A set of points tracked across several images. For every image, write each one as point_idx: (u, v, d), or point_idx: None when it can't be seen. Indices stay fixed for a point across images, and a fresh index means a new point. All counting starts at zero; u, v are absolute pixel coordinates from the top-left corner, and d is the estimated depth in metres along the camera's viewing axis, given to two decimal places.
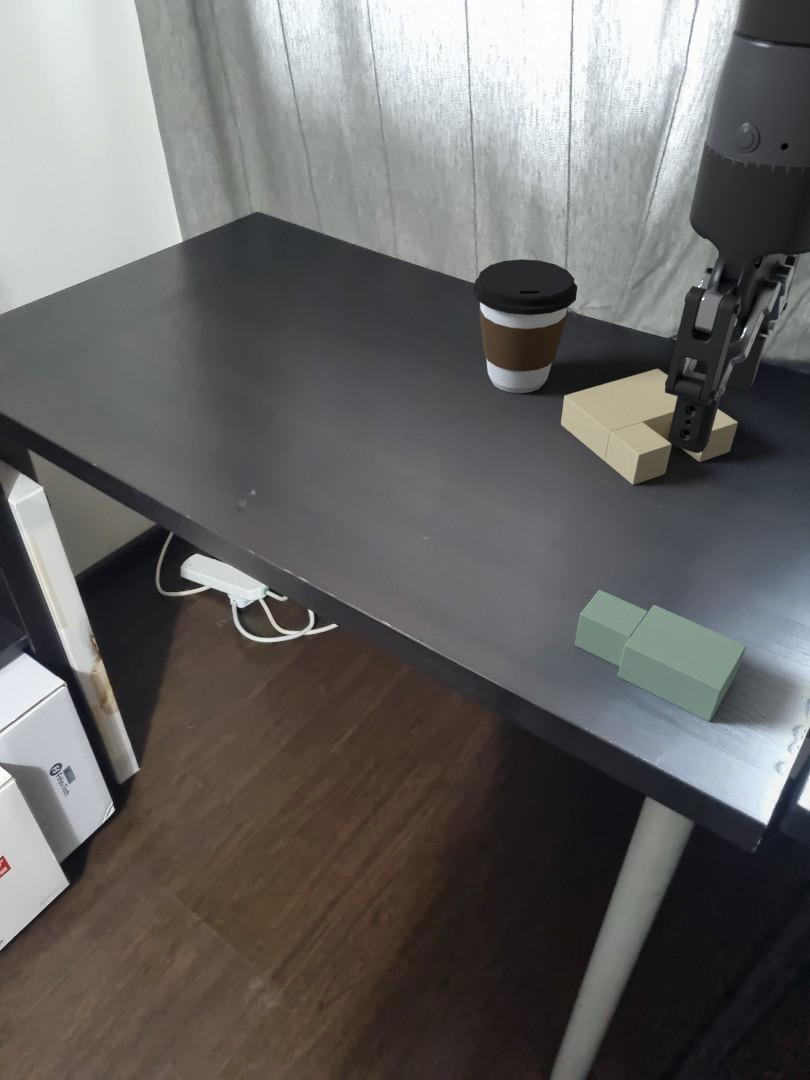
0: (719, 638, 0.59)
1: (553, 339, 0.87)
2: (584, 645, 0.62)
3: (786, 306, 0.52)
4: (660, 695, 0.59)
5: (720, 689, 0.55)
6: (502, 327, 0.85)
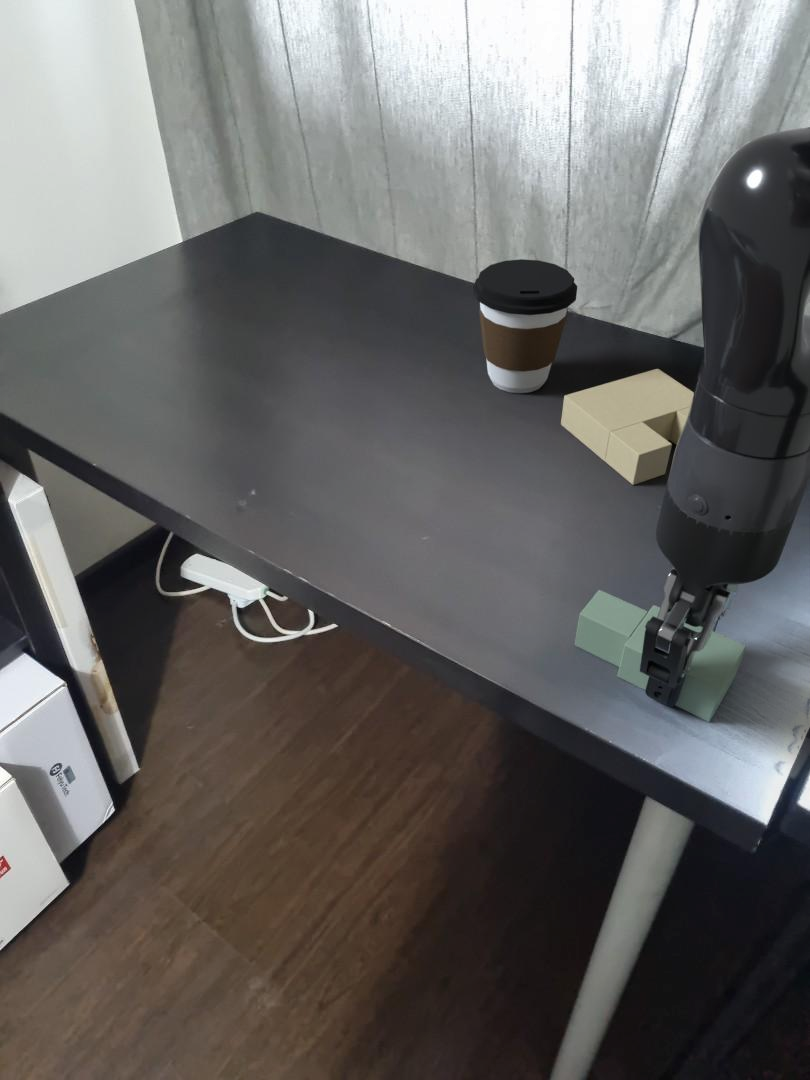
0: (719, 638, 0.59)
1: (553, 339, 0.87)
2: (584, 645, 0.62)
3: None
4: None
5: (720, 689, 0.55)
6: (502, 327, 0.85)
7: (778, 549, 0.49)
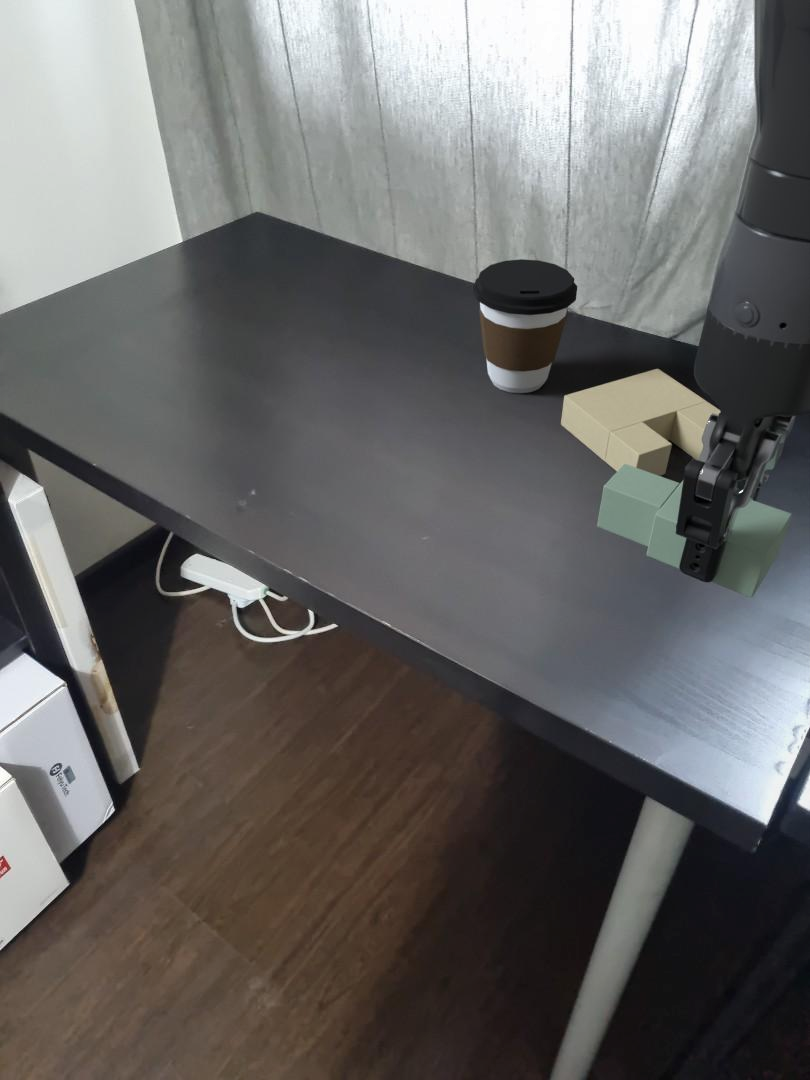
0: (761, 507, 0.52)
1: (553, 339, 0.87)
2: (608, 525, 0.56)
3: (779, 458, 0.53)
4: None
5: (765, 555, 0.49)
6: (502, 327, 0.85)
7: None
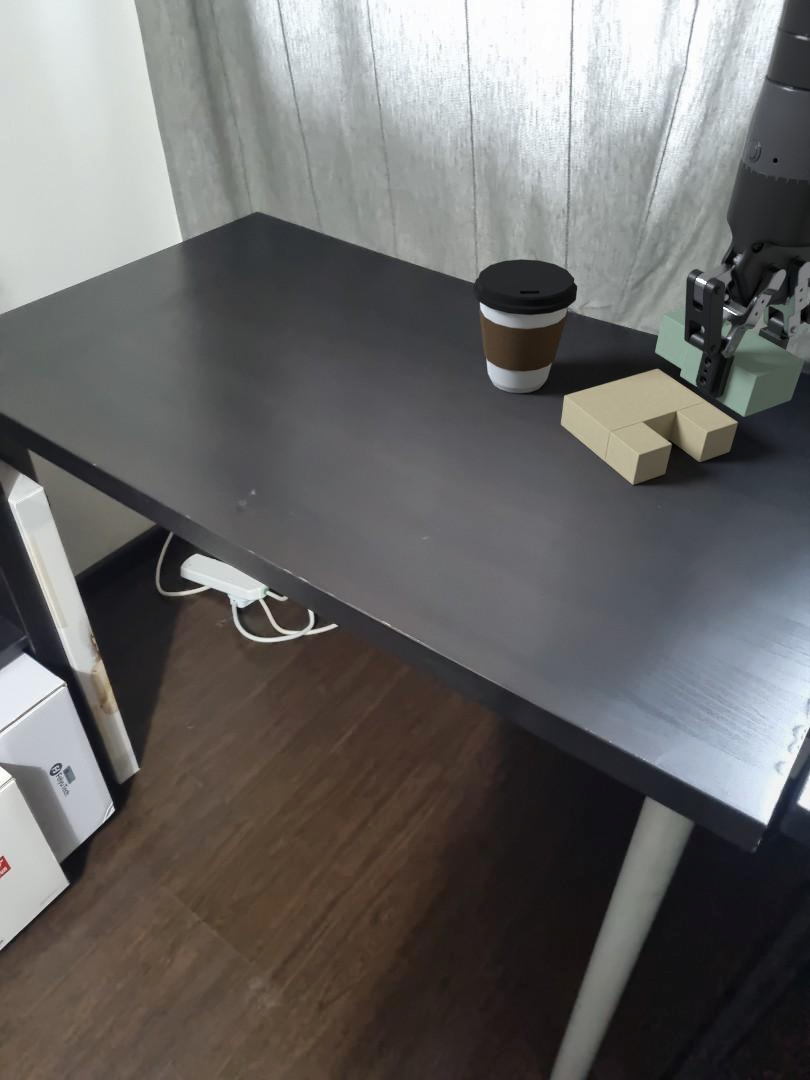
0: (781, 351, 0.63)
1: (553, 339, 0.87)
2: (662, 350, 0.69)
3: None
4: None
5: (756, 376, 0.60)
6: (502, 327, 0.85)
7: None
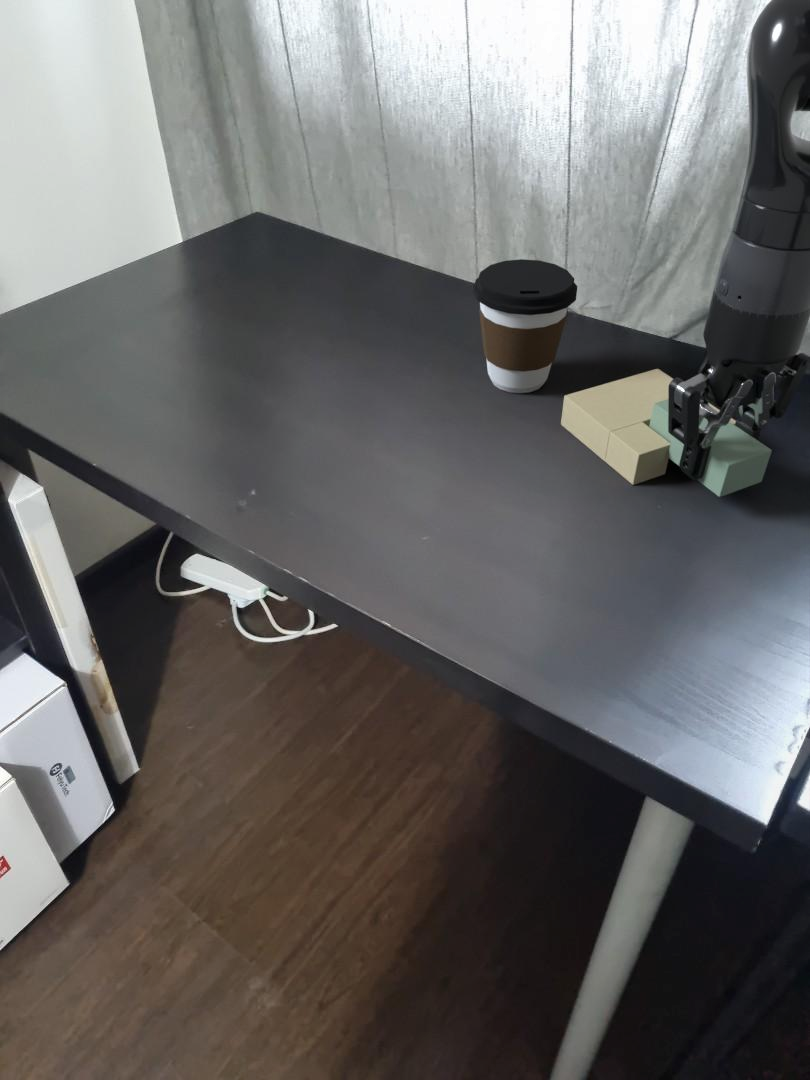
0: (752, 441, 0.73)
1: (553, 339, 0.87)
2: None
3: (782, 413, 0.74)
4: None
5: (728, 465, 0.71)
6: (502, 327, 0.85)
7: (782, 339, 0.64)
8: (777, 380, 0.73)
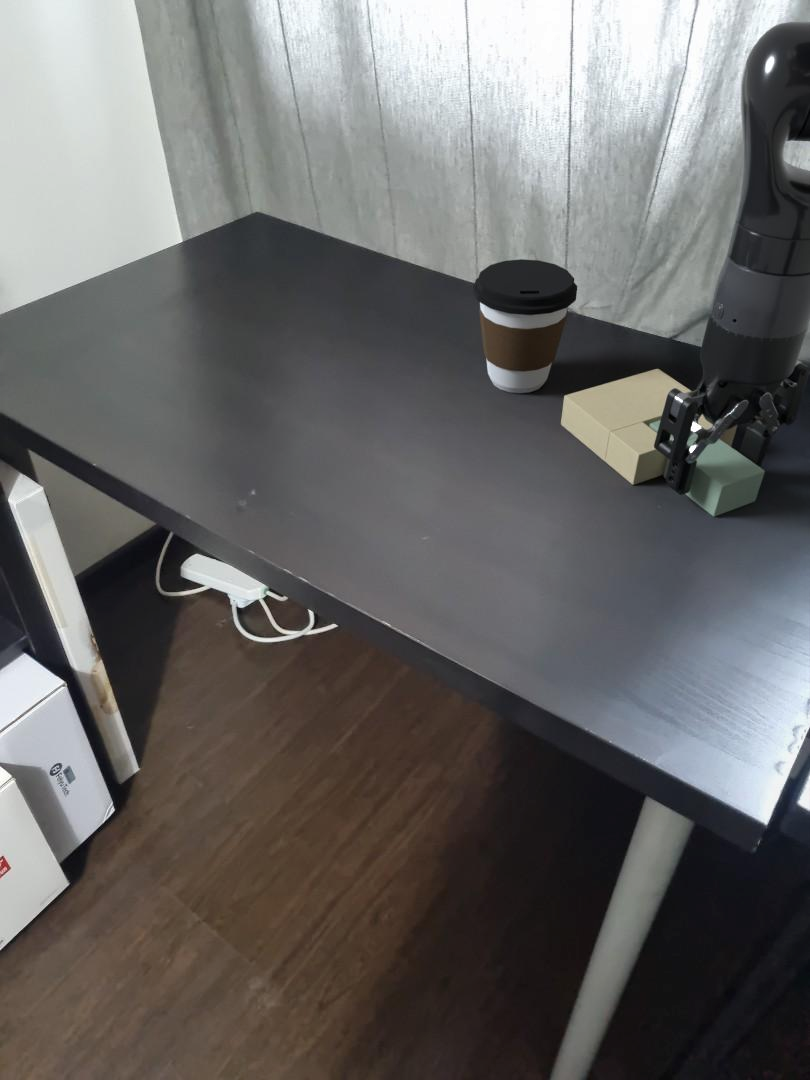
0: (746, 461, 0.75)
1: (553, 339, 0.87)
2: None
3: (793, 419, 0.75)
4: None
5: (722, 485, 0.72)
6: (502, 327, 0.85)
7: (776, 361, 0.65)
8: (781, 390, 0.74)
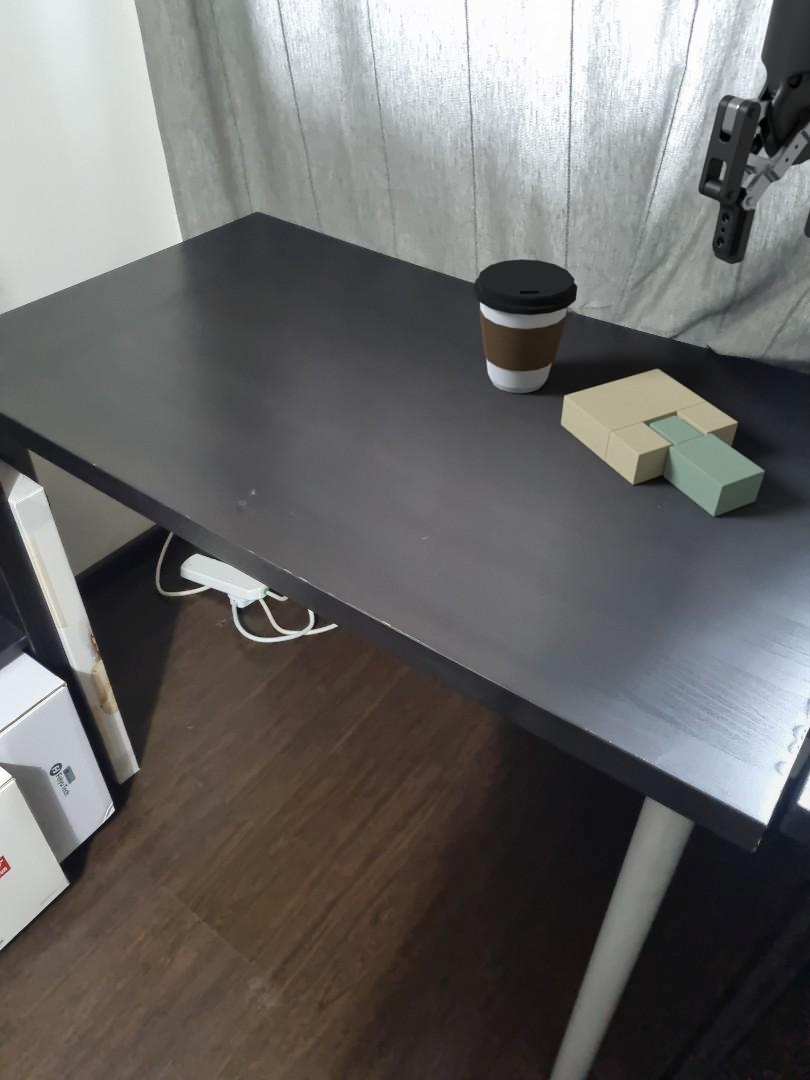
0: (746, 461, 0.75)
1: (553, 339, 0.87)
2: None
3: None
4: (686, 492, 0.77)
5: (722, 485, 0.72)
6: (502, 327, 0.85)
7: None
8: None
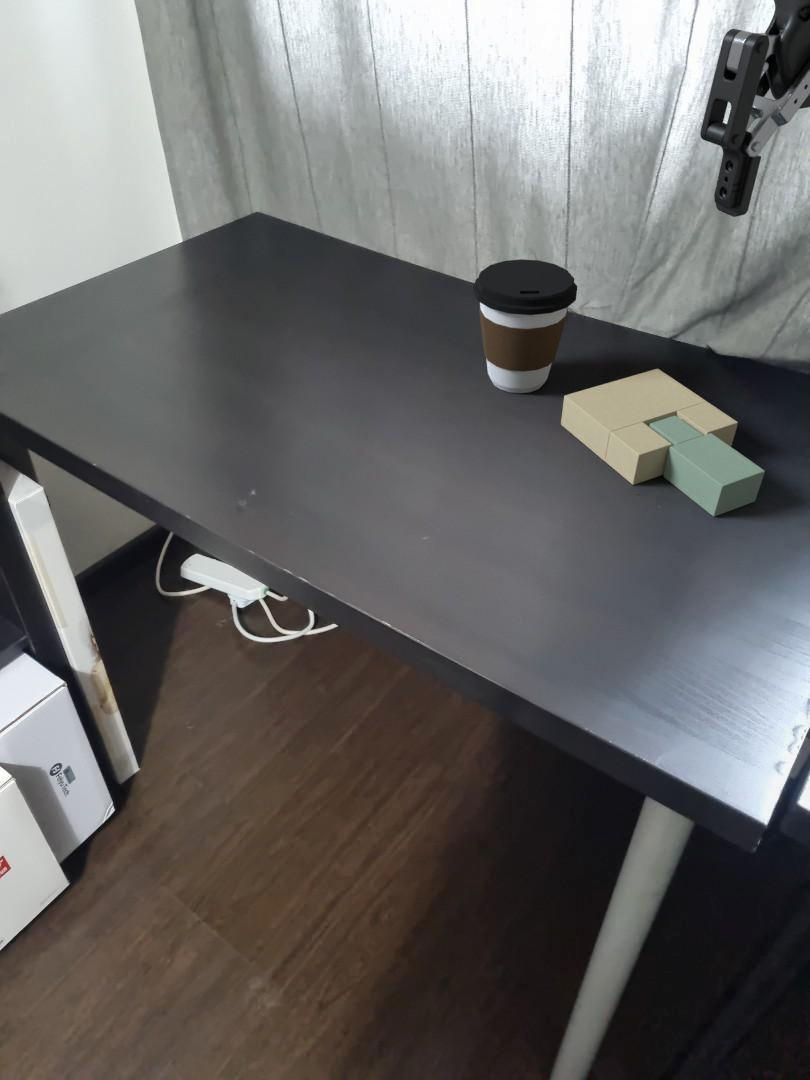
0: (746, 461, 0.75)
1: (553, 339, 0.87)
2: None
3: None
4: (686, 492, 0.77)
5: (722, 485, 0.72)
6: (502, 327, 0.85)
7: None
8: None
